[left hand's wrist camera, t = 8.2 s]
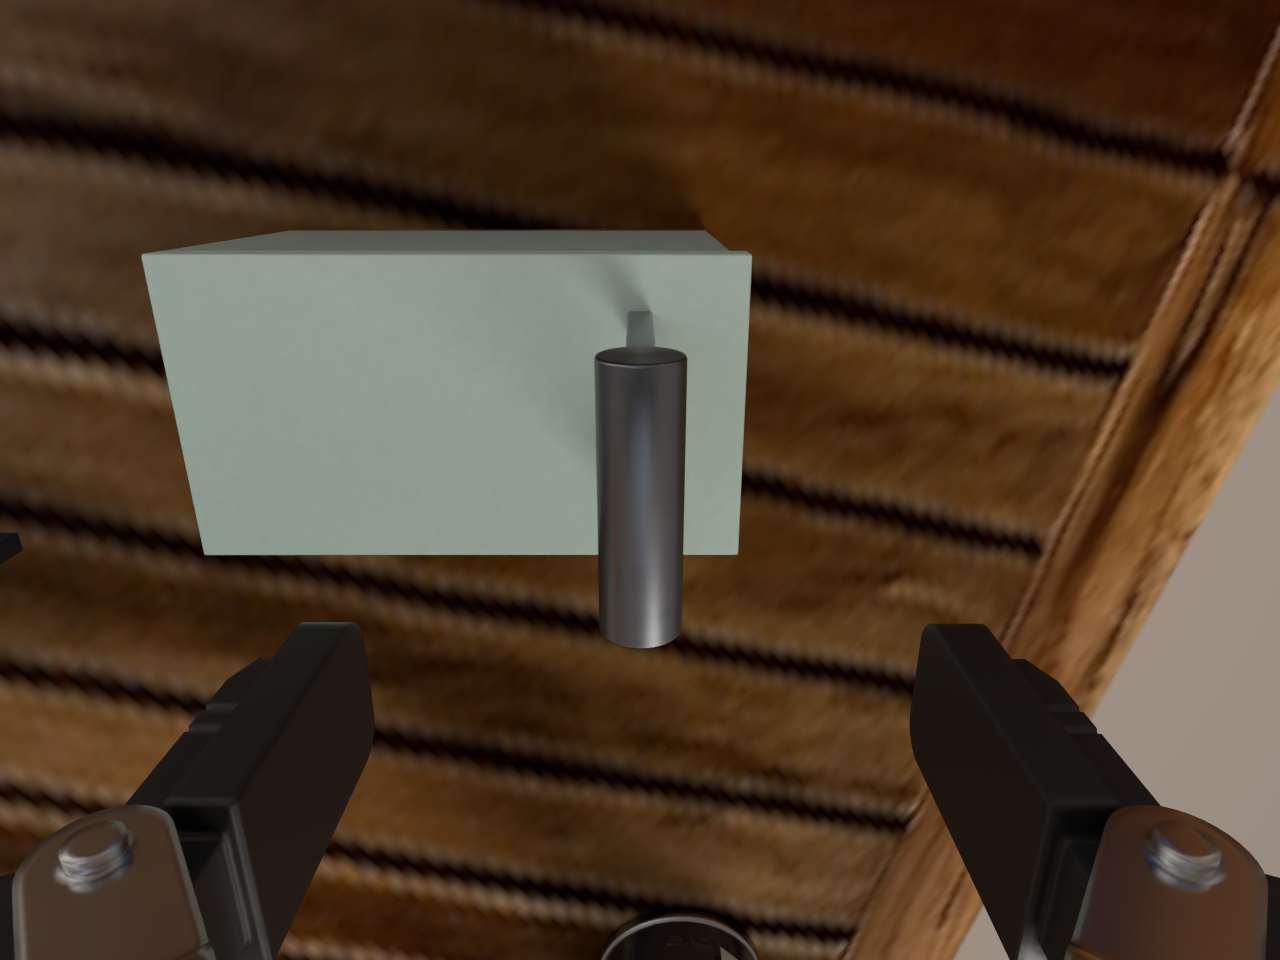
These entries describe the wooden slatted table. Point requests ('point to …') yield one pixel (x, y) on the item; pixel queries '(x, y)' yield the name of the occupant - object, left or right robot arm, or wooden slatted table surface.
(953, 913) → the wooden slatted table surface
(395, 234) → the chest
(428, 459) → the lid
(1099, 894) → the left robot arm
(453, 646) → the wooden slatted table surface
